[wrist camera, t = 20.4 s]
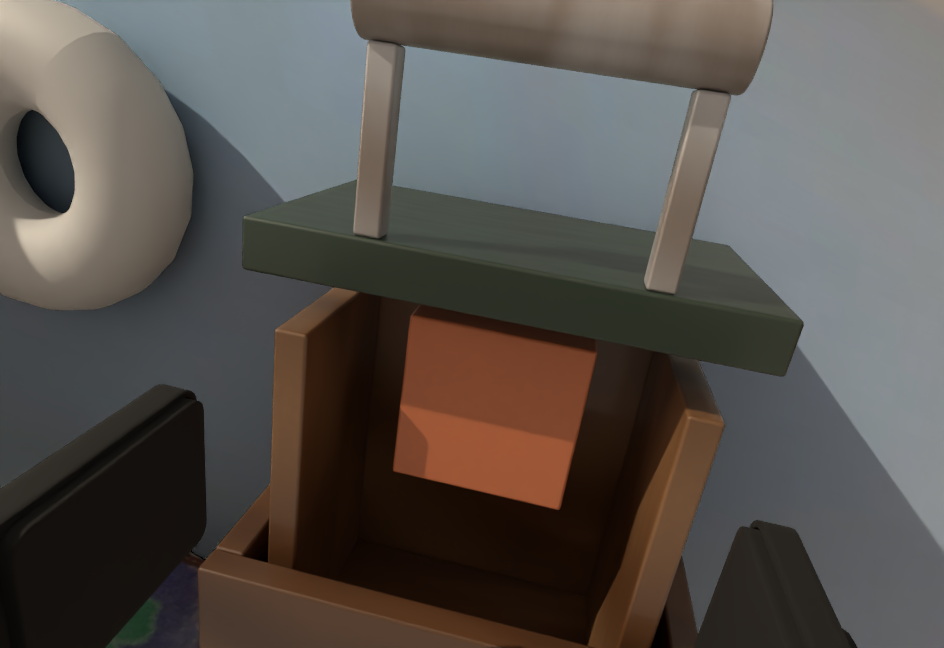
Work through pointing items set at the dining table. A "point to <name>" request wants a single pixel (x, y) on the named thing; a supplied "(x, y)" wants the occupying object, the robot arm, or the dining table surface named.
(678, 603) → the cabinet
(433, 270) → the drawer
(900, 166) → the dining table surface
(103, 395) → the dining table surface
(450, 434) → the block
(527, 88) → the dining table surface
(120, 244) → the donut
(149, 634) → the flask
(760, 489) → the dining table surface
